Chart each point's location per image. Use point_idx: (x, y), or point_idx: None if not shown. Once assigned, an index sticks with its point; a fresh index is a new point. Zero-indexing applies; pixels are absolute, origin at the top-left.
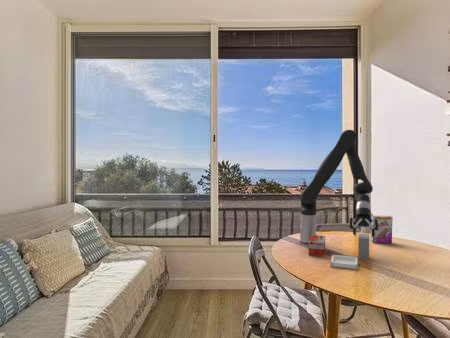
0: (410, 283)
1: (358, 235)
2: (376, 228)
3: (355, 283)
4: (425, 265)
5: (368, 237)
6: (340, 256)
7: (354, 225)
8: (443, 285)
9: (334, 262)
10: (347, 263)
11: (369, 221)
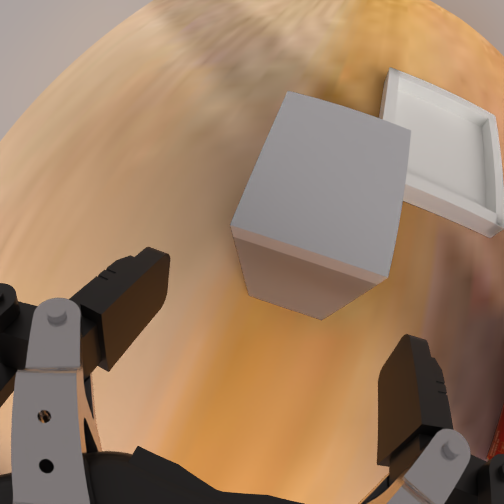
0: (230, 3)
1: (397, 209)
2: (20, 303)
3: (398, 13)
4: (32, 156)
5: (295, 98)
6: (466, 199)
7: (453, 476)
8: (144, 8)
9: (482, 110)
10: (432, 89)
11: (4, 494)
